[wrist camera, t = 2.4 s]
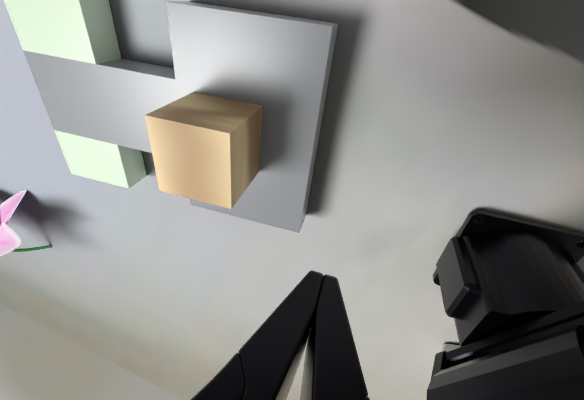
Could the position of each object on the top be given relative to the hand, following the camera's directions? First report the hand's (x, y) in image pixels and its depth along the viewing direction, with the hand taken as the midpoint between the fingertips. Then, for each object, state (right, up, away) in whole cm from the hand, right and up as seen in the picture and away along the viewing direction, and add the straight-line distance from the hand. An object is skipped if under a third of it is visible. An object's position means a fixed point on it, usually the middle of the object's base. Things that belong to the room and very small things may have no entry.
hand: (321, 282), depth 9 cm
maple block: (-5, +6, +8) cm, 11 cm away
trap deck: (-8, +8, +10) cm, 15 cm away
